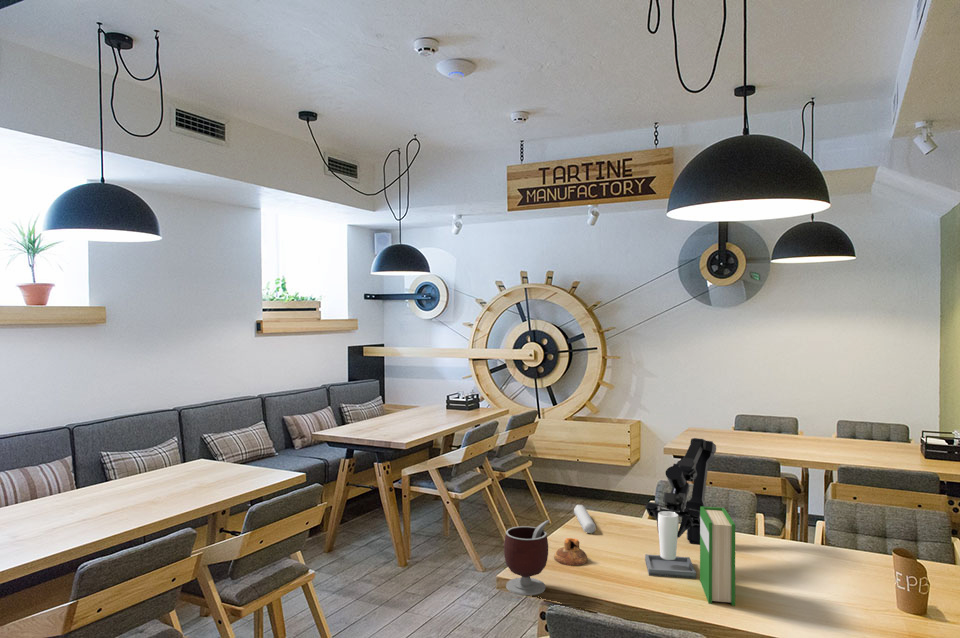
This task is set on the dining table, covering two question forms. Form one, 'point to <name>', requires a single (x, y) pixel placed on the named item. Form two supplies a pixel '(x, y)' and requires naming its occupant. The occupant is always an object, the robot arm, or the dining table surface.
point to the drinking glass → (668, 534)
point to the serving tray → (670, 567)
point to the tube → (584, 519)
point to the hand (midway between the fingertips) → (668, 535)
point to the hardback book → (717, 554)
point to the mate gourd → (526, 558)
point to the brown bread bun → (570, 553)
